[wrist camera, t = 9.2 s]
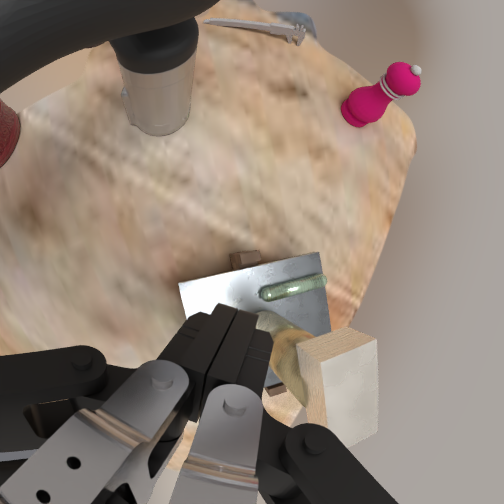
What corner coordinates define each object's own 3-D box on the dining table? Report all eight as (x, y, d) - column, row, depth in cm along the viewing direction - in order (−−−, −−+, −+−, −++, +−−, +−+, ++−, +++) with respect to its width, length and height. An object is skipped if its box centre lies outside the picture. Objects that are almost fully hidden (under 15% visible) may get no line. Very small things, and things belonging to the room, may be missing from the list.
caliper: (298, 44, 46) (310, 27, 40) (298, 47, 46) (310, 30, 40) (204, 21, 41) (207, 0, 35) (202, 24, 41) (206, 3, 35)
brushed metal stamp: (209, 396, 34) (244, 515, 13) (178, 282, 33) (173, 328, 12) (330, 358, 38) (434, 423, 18) (313, 252, 37) (439, 251, 17)
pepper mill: (332, 101, 47) (394, 48, 28) (356, 96, 49) (417, 49, 29) (350, 133, 48) (420, 89, 29) (373, 125, 50) (441, 86, 30)
